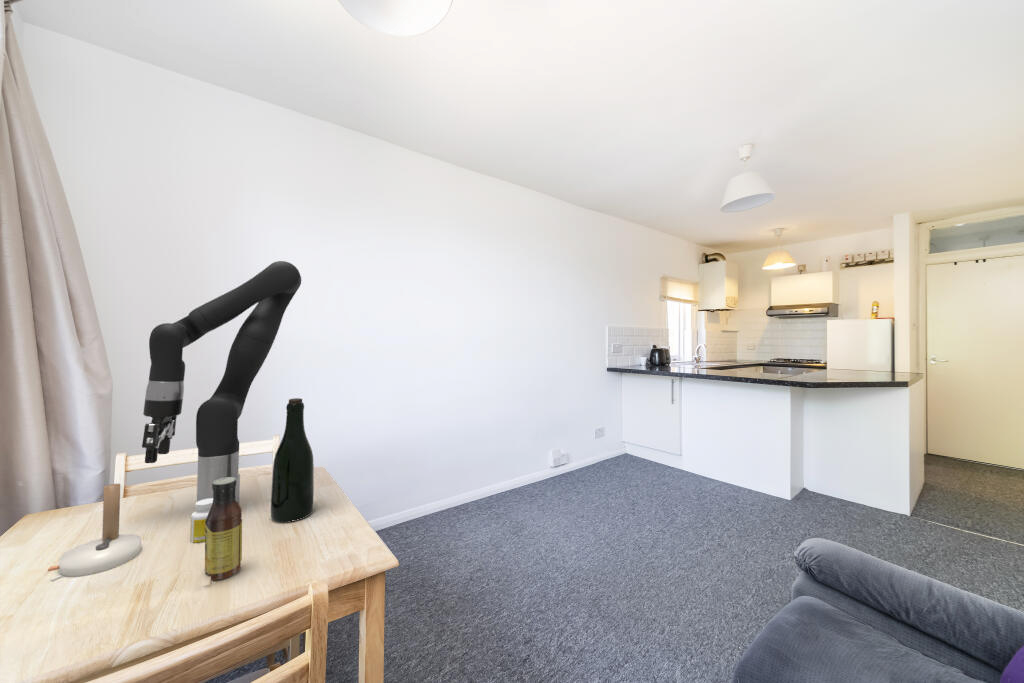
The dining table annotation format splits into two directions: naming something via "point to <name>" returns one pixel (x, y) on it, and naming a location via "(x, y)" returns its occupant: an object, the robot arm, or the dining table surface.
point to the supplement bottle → (199, 520)
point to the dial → (102, 543)
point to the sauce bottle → (223, 531)
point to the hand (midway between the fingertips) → (157, 458)
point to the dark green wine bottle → (293, 469)
